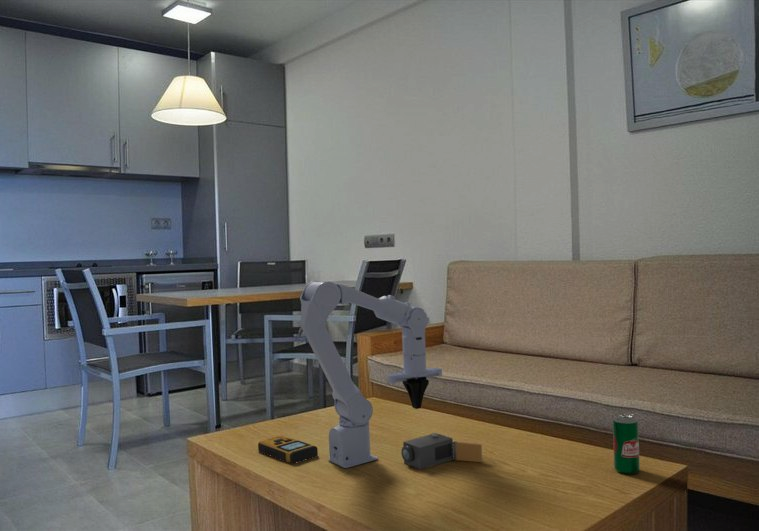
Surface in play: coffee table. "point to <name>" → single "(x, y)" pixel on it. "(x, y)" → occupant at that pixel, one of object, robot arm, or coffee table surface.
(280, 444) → the electronic device
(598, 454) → the coffee table surface
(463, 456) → the side door
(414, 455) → the camera body
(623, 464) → the soda can
